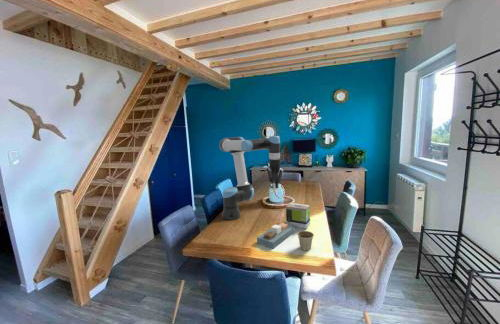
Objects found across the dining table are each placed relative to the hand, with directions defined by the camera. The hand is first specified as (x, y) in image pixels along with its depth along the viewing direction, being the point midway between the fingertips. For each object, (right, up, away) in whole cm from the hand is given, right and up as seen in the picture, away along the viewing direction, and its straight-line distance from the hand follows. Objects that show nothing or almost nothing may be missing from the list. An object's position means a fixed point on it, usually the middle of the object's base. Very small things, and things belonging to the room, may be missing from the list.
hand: (275, 192), depth 164 cm
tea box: (+18, -25, +8) cm, 32 cm away
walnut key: (-6, -27, -17) cm, 33 cm away
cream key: (-1, -25, -11) cm, 27 cm away
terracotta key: (+5, -25, -4) cm, 26 cm away
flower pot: (+15, -30, -24) cm, 41 cm away
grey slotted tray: (0, -28, -10) cm, 30 cm away
